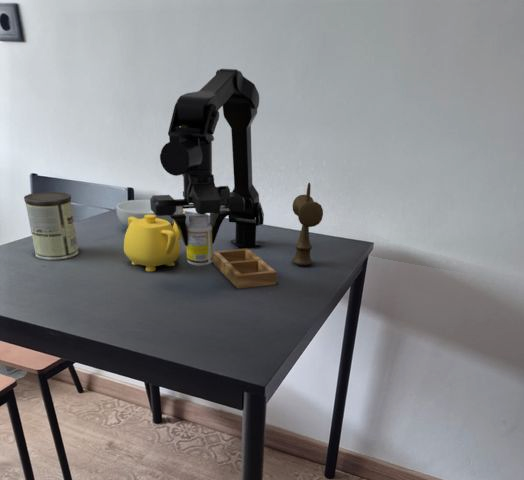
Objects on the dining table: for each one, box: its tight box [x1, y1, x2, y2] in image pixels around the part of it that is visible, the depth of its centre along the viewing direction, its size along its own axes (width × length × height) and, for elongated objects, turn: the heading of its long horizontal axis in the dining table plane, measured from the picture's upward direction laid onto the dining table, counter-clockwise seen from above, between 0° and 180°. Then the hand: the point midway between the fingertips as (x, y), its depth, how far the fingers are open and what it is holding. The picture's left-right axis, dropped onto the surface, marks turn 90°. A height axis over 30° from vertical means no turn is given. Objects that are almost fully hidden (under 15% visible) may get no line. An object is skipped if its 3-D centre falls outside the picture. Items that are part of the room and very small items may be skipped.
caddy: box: [212, 248, 278, 290], centre depth 115 cm, size 18×9×3 cm, turn 23°
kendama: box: [292, 182, 324, 267], centre depth 119 cm, size 6×10×20 cm, turn 8°
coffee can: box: [23, 191, 80, 261], centre depth 118 cm, size 10×10×14 cm
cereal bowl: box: [115, 199, 174, 228], centre depth 142 cm, size 17×17×7 cm
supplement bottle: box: [185, 212, 213, 267], centre depth 103 cm, size 6×6×10 cm
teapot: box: [123, 210, 186, 272], centre depth 116 cm, size 14×14×12 cm
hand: (199, 244), depth 104 cm, fingers closed on supplement bottle, 5 cm apart
